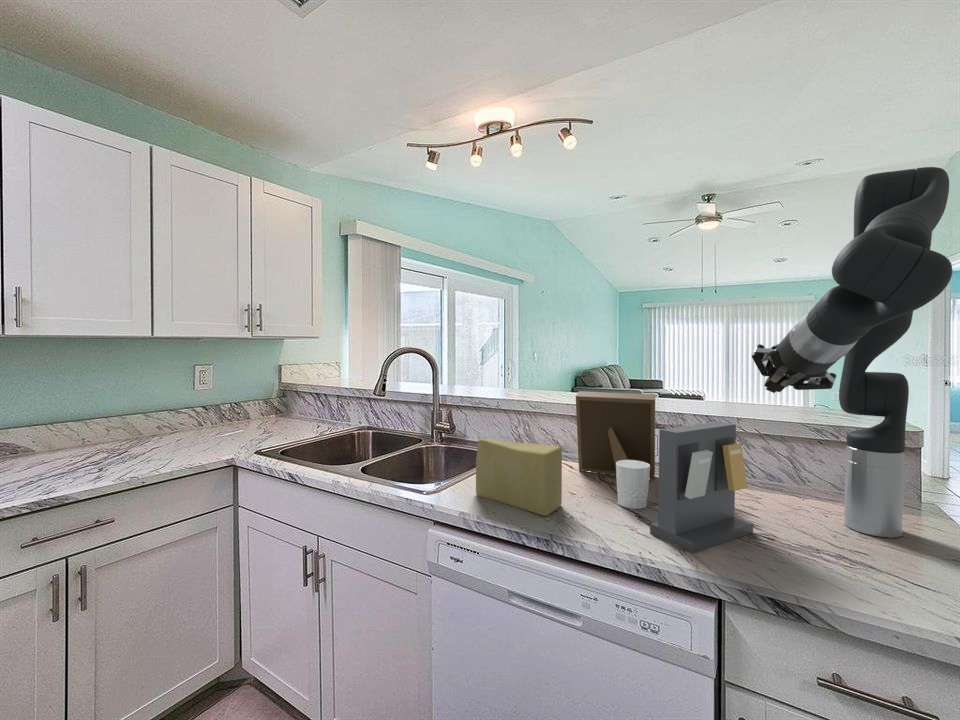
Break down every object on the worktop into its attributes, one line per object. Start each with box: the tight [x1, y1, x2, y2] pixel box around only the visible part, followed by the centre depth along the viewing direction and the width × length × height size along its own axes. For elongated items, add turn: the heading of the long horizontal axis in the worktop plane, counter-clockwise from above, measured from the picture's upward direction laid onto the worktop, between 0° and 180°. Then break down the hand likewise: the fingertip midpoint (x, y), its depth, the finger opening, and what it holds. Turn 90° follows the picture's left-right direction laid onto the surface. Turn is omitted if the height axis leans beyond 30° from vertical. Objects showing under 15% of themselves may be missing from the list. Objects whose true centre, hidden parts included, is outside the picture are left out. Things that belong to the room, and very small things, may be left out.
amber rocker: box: [722, 442, 748, 492], centre depth 92 cm, size 4×1×9 cm, turn 118°
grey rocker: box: [685, 450, 713, 499], centre depth 87 cm, size 4×1×9 cm, turn 118°
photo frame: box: [575, 390, 656, 480], centre depth 131 cm, size 15×22×25 cm
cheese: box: [475, 437, 563, 517], centre depth 111 cm, size 22×10×15 cm, turn 56°
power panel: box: [649, 421, 754, 554], centre depth 93 cm, size 19×10×22 cm, turn 118°
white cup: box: [615, 460, 650, 510], centre depth 110 cm, size 8×8×10 cm
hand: (771, 387), depth 83 cm, fingers closed
